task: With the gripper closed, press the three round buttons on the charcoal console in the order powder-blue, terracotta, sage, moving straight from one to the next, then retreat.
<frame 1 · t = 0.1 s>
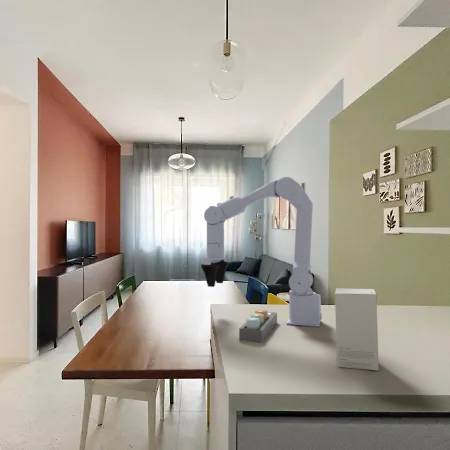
hand: (215, 284, 117), 10 cm above the worktop, tool pointing down, fingers open, 7 cm apart
blue button: (252, 325, 93), point 3 cm above the worktop, slide at 0.0 cm
sage button: (257, 320, 97), point 3 cm above the worktop, slide at 0.0 cm
console: (259, 330, 100), on the worktop
terracotta button: (261, 316, 102), point 3 cm above the worktop, slide at 0.0 cm
skincare box: (356, 365, 75), on the worktop
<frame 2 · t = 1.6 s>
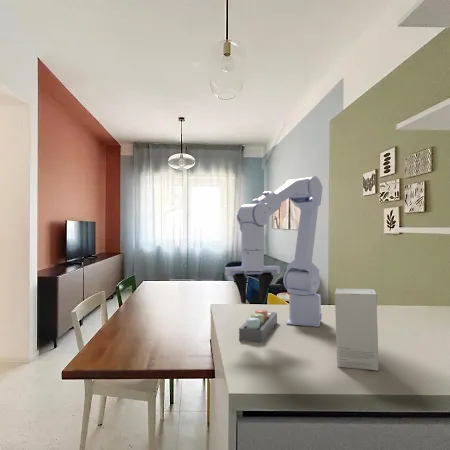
hand: (252, 302, 93), 9 cm above the worktop, tool pointing down, fingers open, 4 cm apart
nothing on the worktop moved.
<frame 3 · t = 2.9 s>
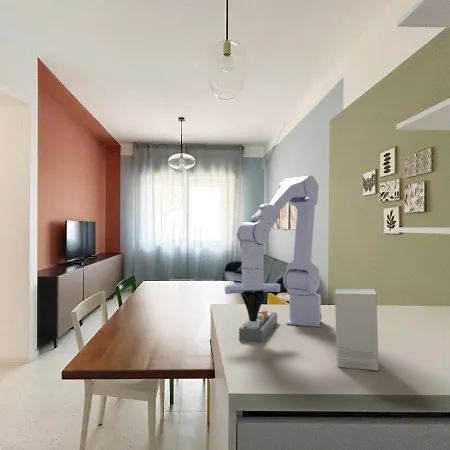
hand: (252, 320, 93), 5 cm above the worktop, tool pointing down, fingers closed, pressing on blue button
blue button: (252, 326, 93), point 3 cm above the worktop, slide at 0.3 cm, touching gripper
everything else where it was.
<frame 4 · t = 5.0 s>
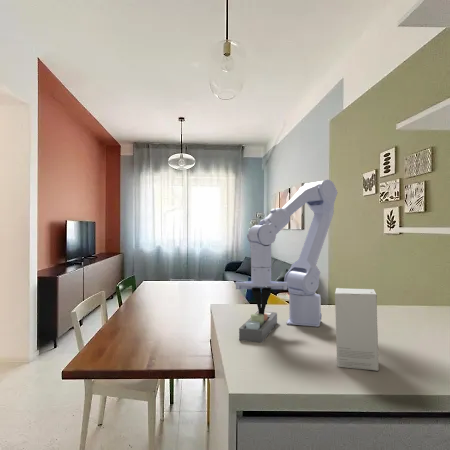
hand: (261, 314, 102), 4 cm above the worktop, tool pointing down, fingers closed, pressing on terracotta button
blue button: (252, 328, 93), point 3 cm above the worktop, slide at 0.9 cm
terracotta button: (261, 319, 102), point 3 cm above the worktop, slide at 1.0 cm, touching gripper
everything else where it was.
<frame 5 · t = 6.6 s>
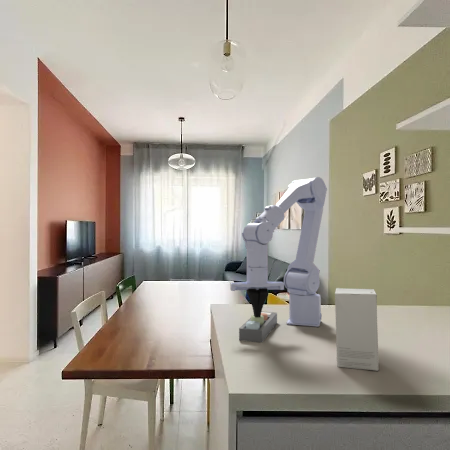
hand: (257, 316, 97), 5 cm above the worktop, tool pointing down, fingers closed, pressing on sage button
sage button: (257, 321, 97), point 3 cm above the worktop, slide at 0.4 cm, touching gripper
terracotta button: (261, 319, 102), point 3 cm above the worktop, slide at 1.0 cm
everything else where it was.
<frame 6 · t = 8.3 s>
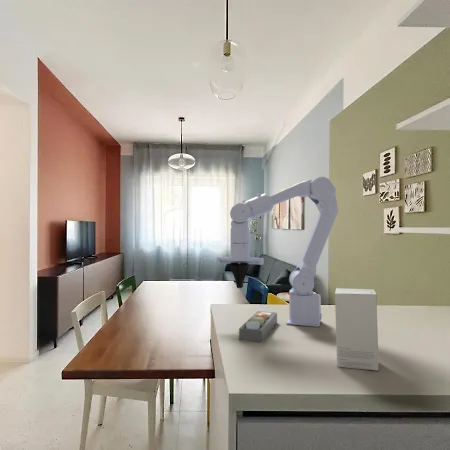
hand: (239, 287, 110), 10 cm above the worktop, tool pointing down, fingers closed
sage button: (257, 324, 97), point 3 cm above the worktop, slide at 1.0 cm
everything else where it was.
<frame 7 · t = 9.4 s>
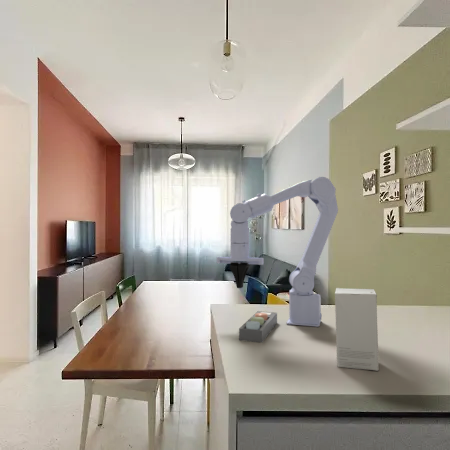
hand: (239, 287, 110), 10 cm above the worktop, tool pointing down, fingers closed
nothing on the worktop moved.
at the end: blue button slide at 0.9 cm; terracotta button slide at 1.0 cm; sage button slide at 1.0 cm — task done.
